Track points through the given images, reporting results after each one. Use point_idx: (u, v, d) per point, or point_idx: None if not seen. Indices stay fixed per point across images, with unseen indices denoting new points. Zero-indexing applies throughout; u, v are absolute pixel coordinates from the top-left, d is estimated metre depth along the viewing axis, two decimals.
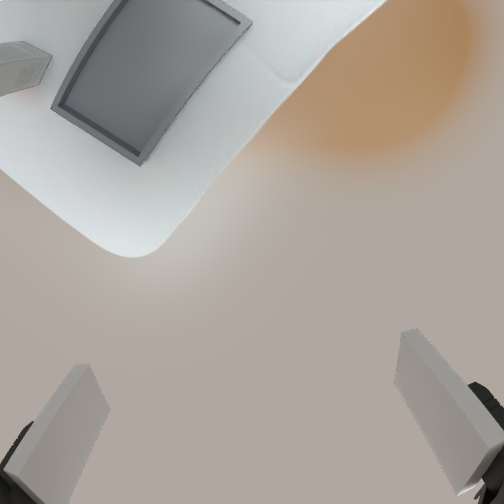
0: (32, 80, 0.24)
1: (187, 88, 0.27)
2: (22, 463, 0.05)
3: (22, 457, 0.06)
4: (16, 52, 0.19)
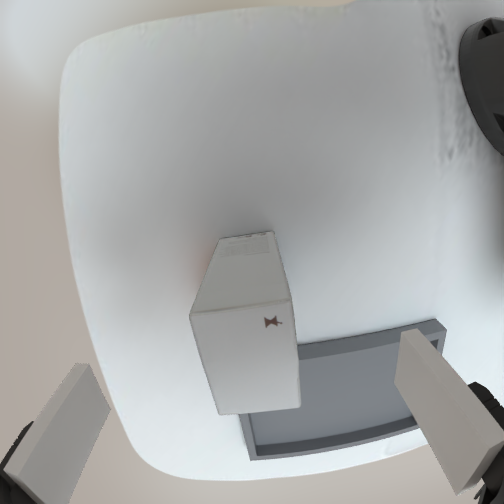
0: None
1: (343, 445, 0.27)
2: (22, 463, 0.05)
3: (22, 457, 0.06)
4: None
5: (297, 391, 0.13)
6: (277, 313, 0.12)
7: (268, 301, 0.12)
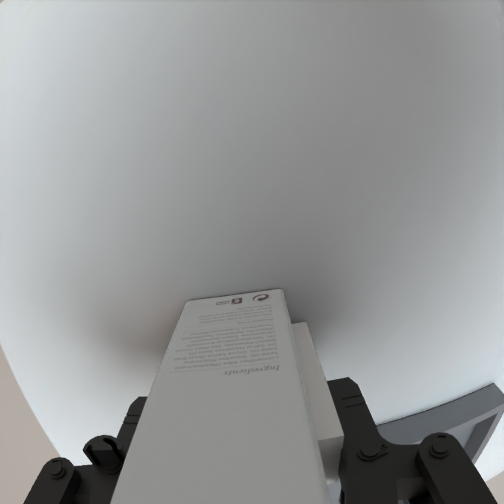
0: None
1: None
2: None
3: None
4: None
5: None
6: None
7: None
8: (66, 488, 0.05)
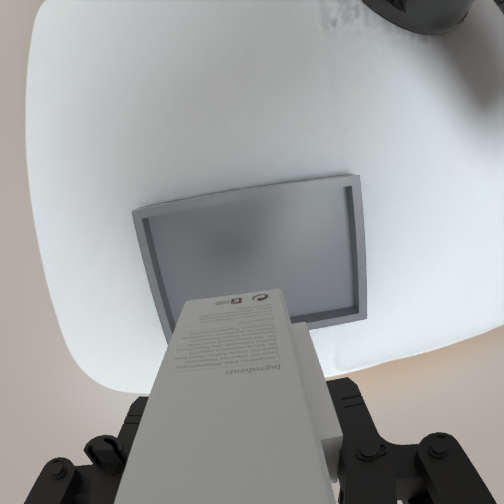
0: None
1: None
2: None
3: None
4: None
5: None
6: None
7: None
8: (67, 488, 0.05)
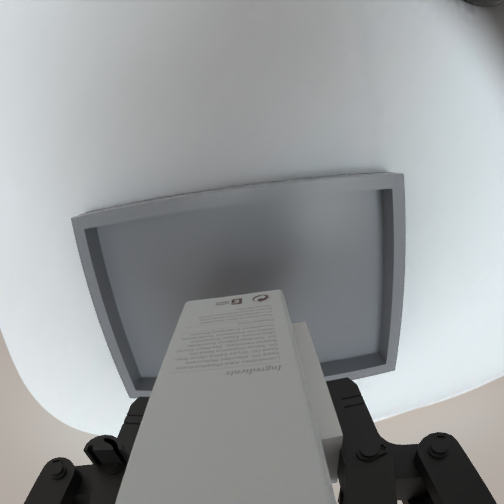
0: None
1: None
2: None
3: None
4: None
5: None
6: None
7: None
8: (67, 488, 0.05)
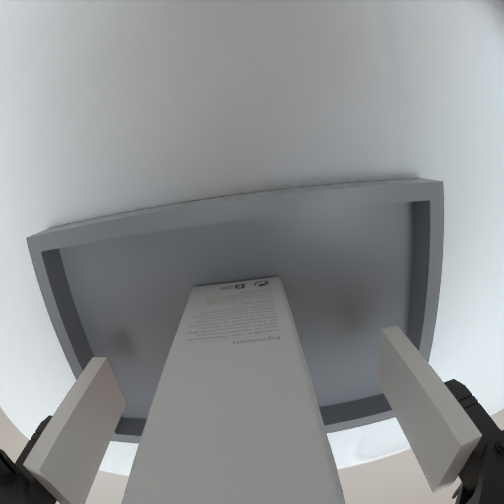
0: None
1: None
2: (43, 457, 0.06)
3: (43, 451, 0.06)
4: None
5: None
6: None
7: None
8: None
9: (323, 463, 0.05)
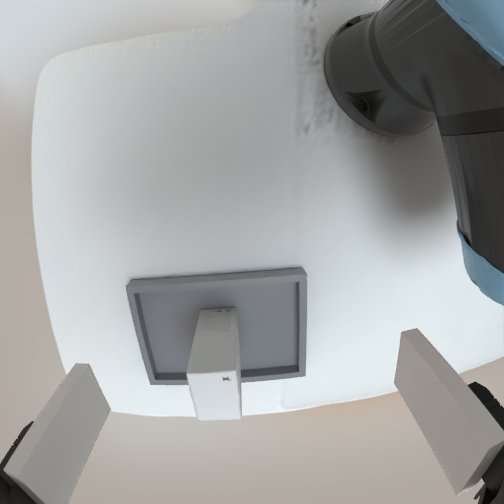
0: None
1: None
2: (22, 463, 0.05)
3: (22, 457, 0.06)
4: (239, 359, 0.31)
5: (239, 411, 0.25)
6: (229, 375, 0.23)
7: (224, 369, 0.23)
8: None
9: (233, 358, 0.25)
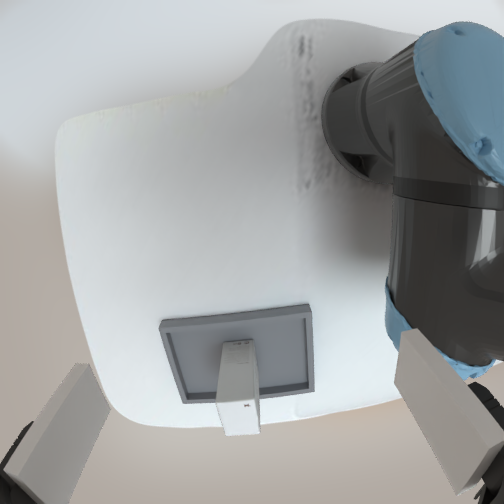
0: None
1: None
2: (22, 463, 0.05)
3: (22, 457, 0.06)
4: (257, 384, 0.36)
5: (258, 427, 0.30)
6: (249, 403, 0.29)
7: (245, 398, 0.29)
8: None
9: (252, 388, 0.31)
